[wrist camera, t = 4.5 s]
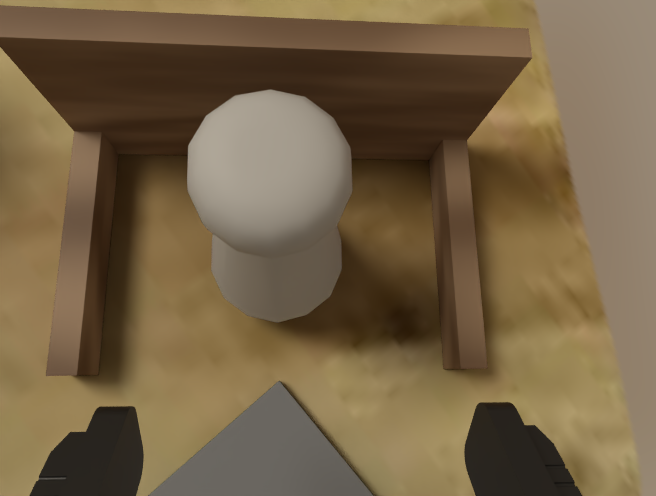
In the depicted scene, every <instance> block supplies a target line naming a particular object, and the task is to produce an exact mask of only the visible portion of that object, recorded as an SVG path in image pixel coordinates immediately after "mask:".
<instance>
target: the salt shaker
mask: <svg viewBox="0 0 656 496" xmlns="http://www.w3.org/2000/svg"><path fill="white" fill-rule="evenodd" d="M187 187H188V193H189V195H190V197H191V199H192V201H193V204H194V206H195V208H196V210H197V212H198V214H199V217H200V219H201V221H202V223H203V225H204V226H205V227H206V228H207V229H208V230H209V231H210V232H211V233H213V238H212V273H213V275H214V277H215V279H216V282H217V284H218V286H219V288H220V290H221V293H222V295H223V297H224V298H225V299H226V300H227V301H229V302H230V303H231V304H233V305H234V306H235V307H237V308H238V309H239V310H241V311H242V312H243V313H245V314H246V315H247V316H251V317H255V318H260V319H264V320H268V321H273V322H277V323H278V322H282V321H286V320H289V319H293V318H297V317H300V316H304V315H307V314H309V313H310V312H311V311H312V310H314V309H315V308H316V307H317V306H319V305H320V304H321V303H322V302H324V301H325V300H326V299H327V298H329V297H330V296H331V294H332V291H333V289H334V287H335V284H336V282H337V279H338V277H339V275H340V272H341V270H342V251H341V238H340V234H339V231H338V227H337V224H338V222H339V220H340V218H341V216H342V213H343V211H344V209H345V207H346V204H347V202H348V200H349V198H350V196H351V193H352V163H351V149H350V146H349V144H348V142H347V141H346V139H345V137H344V135H343V134H342V132H341V130H340V128H339V127H338V125H337V123H336V121H335V120H334V118H333V117H332V116H330V115H329V114H328V113H326V112H325V111H324V110H322V109H321V108H320V107H318V106H317V105H316V104H314V103H313V102H312V101H310V100H309V99H308V98H306V97H304V96H299V95H294V94H289V93H285V92H280V91H275V90H271V89H270V90H264V91H259V92H253V93H247V94H241V95H235V96H234V97H232V98H231V99H229V100H228V101H226V102H225V103H224V104H222V105H221V106H219V107H218V108H216V109H215V110H214V111H212V112H211V113H209V114H208V115H206V117H205V118H204V120H203V122H202V123H201V125H200V127H199V128H198V130H197V132H196V133H195V135H194V137H193V138H192V140H191V142H190V144H189V145H188V171H187Z"/></svg>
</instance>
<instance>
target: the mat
mask: <svg viewBox="0 0 656 496" xmlns="http://www.w3.org/2000/svg"><path fill="white" fill-rule="evenodd" d="M148 496H373V494H372V493H371V492H370V491H369V490H368V488H367V487H366V486H365V485H364V483H363V482H362V481H361V480H360V479H359V477H358V476H357V475H356V474H355V472H354V471H353V470H352V469H351V468H350V466H349V465H348V464H347V463H346V461H345V460H344V459H343V458H342V457H341V455H340V454H339V453H338V452H337V451H336V449H335V448H334V447H333V446H332V444H331V443H330V442H329V441H328V440H327V438H326V437H325V436H324V435H323V433H322V432H321V431H320V430H319V429H318V427H317V426H316V425H315V424H314V422H313V421H312V420H311V419H310V418H309V416H308V415H307V414H306V413H305V411H304V410H303V409H302V408H301V407H300V405H299V404H298V403H297V402H296V401H295V399H294V398H293V397H292V396H291V394H290V393H289V392H288V391H287V390H286V388H285V387H284V386H283V385H282V383H281V382H280V381H278V382H277V383H276V384H275V385H274V386H273V387H272V388H270V389H269V390H268V391H267V392H266V393H265V394H264V395H262V396H261V397H260V398H259V399H258V400H257V401H256V402H254V403H253V404H252V405H251V406H250V407H249V408H248V409H246V410H245V411H244V412H243V413H242V414H241V415H240V416H238V417H237V418H236V419H235V420H234V421H233V422H232V423H230V424H229V425H228V426H227V427H226V428H225V429H224V430H223V431H221V432H220V433H219V434H218V435H217V436H216V437H215V438H213V439H212V440H211V441H210V442H209V443H208V444H207V445H205V446H204V447H203V448H202V449H201V450H200V451H199V452H197V453H196V454H195V455H194V456H193V457H192V458H191V459H189V460H188V461H187V462H186V463H185V464H184V465H183V466H181V467H180V468H179V469H178V470H177V471H176V472H175V473H174V474H172V475H171V476H170V477H169V478H168V479H167V480H166V481H164V482H163V483H162V484H161V485H160V486H159V487H158V488H156V489H155V490H154V491H153V492H152V493H151V494H150V495H148Z"/></svg>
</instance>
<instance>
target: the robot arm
mask: <svg viewBox="0 0 656 496" xmlns="http://www.w3.org/2000/svg"><path fill="white" fill-rule="evenodd" d="M143 458H144V456H143V446H142V440H141V435H140V430H139V424H138V419H137V413H136V409H135V407H133V406H126V407H98V408H97V409H96V411H95V413H94V415H93V417H92V419H91V421H90V424H89V426H88V428H87V431H86V432H70V433H69V434H68V435H67V436H66V437H65V438H64V439H63V440H62V441H61V442H60V443H59V444H58V445H57V446H56V447H55V448H54V450H53V451H52V452H51V453H50V455H49V457H48V459H47V461H46V463H45V465H44V467H43V469H42V471H41V473H40V475H39V480H38V481H36V483H35V485H34V487H33V490H32V492H31V494H30V496H136V493H137V490H138V486H139V483H140V479H141V475H142V469H143ZM465 464H466V468H467V472H468V475H469V478H470V480H471V483H472V486H473V489H474V492H475V495H476V496H582V495H581V493H580V491H579V489H578V487H577V486H576V487H575V485H574V480H573V478H572V476H571V475H570V473H569V471H568V469H566V468H565V464H564V462H563V460H562V458H561V456H560V455H559V453H558V451H557V449H556V447H555V446H554V444H553V443H552V442H551V441H550V440H549V439H548V438H547V437H546V436H545V435H544V434H543V433H542V432H541V431H540V430H539V429H538V428H537V427H536V426H535V425H524V423H523V421H522V419H521V417H520V415H519V413H518V411H517V409H516V408H515V406H514V405H513V404H512V403H509V402H499V403H479V404H478V405H477V406H476V409H475V413H474V416H473V419H472V423H471V426H470V429H469V433H468V436H467V440H466V443H465Z"/></svg>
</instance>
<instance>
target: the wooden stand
mask: <svg viewBox="0 0 656 496" xmlns="http://www.w3.org/2000/svg"><path fill="white" fill-rule="evenodd" d="M0 47H1V48H2V49H3V51H4V52H5V53H6V54H7V55H8V56H9V57H10V59H11V60H12V61H13V62H14V63H15V64H16V65H17V66H18V68H19V69H20V70H21V71H22V72H23V73H24V74H25V76H26V77H27V78H28V79H29V80H30V81H31V82H32V84H33V85H34V86H35V87H36V88H37V89H38V90H39V92H40V93H41V94H42V95H43V96H44V97H45V98H46V99H47V101H48V102H49V103H50V104H51V105H52V106H53V107H54V109H55V110H56V111H57V112H58V113H59V114H60V115H61V117H62V118H63V119H64V120H65V121H66V122H67V123H68V125H69V126H70V127H71V128H72V129H73V130H74V138H73V147H72V155H71V164H70V173H69V181H68V190H67V199H66V207H65V216H64V224H63V233H62V242H61V250H60V259H59V267H58V276H57V285H56V293H55V302H54V310H53V319H52V328H51V336H50V345H49V353H48V362H47V371H46V376H66V375H98V373H99V362H100V351H101V341H102V330H103V319H104V308H105V297H106V286H107V275H108V264H109V253H110V242H111V231H112V221H113V210H114V199H115V188H116V177H117V166H118V155H119V154H143V155H188V145H189V144H190V142H191V140H192V138H193V137H194V135H195V133H196V132H197V130H198V128H199V127H200V125H201V123H202V122H203V120H204V118H205V117H206V115H208V114H209V113H211V112H212V111H214V110H215V109H216V108H218V107H219V106H221V105H222V104H224V103H225V102H226V101H228V100H229V99H231V98H232V97H234V96H235V95H241V94H247V93H253V92H259V91H264V90H270V89H271V90H275V91H280V92H285V93H289V94H294V95H299V96H304V97H306V98H308V99H309V100H310V101H312V102H313V103H314V104H316V105H317V106H318V107H320V108H321V109H322V110H324V111H325V112H326V113H328V114H329V115H330V116H332V117H333V118H334V120H335V121H336V123H337V125H338V127H339V128H340V130H341V132H342V134H343V135H344V137H345V139H346V141H347V142H348V144H349V146H350V149H351V159H396V160H429V168H430V182H431V196H432V210H433V225H434V239H435V253H436V267H437V282H438V296H439V310H440V324H441V339H442V353H443V367H444V369H479V368H488V367H487V356H486V345H485V334H484V323H483V312H482V301H481V290H480V279H479V268H478V257H477V246H476V235H475V224H474V213H473V202H472V191H471V180H470V169H469V158H468V147H467V140H468V138H469V137H470V136H471V135H472V133H473V132H474V131H475V129H476V128H477V127H478V126H479V124H480V123H481V122H482V121H483V119H484V118H485V117H486V116H487V114H488V113H489V112H490V110H491V109H492V108H493V107H494V105H495V104H496V103H497V102H498V100H499V99H500V98H501V97H502V95H503V94H504V93H505V91H506V90H507V89H508V88H509V86H510V85H511V84H512V83H513V81H514V80H515V79H516V77H517V76H518V75H519V74H520V72H521V71H522V70H523V69H524V67H525V66H526V65H527V64H528V62H529V61H530V60H531V58H532V52H531V44H530V37H529V29H525V28H503V27H480V26H457V25H434V24H411V23H388V22H365V21H342V20H320V19H297V18H274V17H251V16H228V15H205V14H182V13H160V12H137V11H114V10H91V9H68V8H45V7H22V6H0Z"/></svg>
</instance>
